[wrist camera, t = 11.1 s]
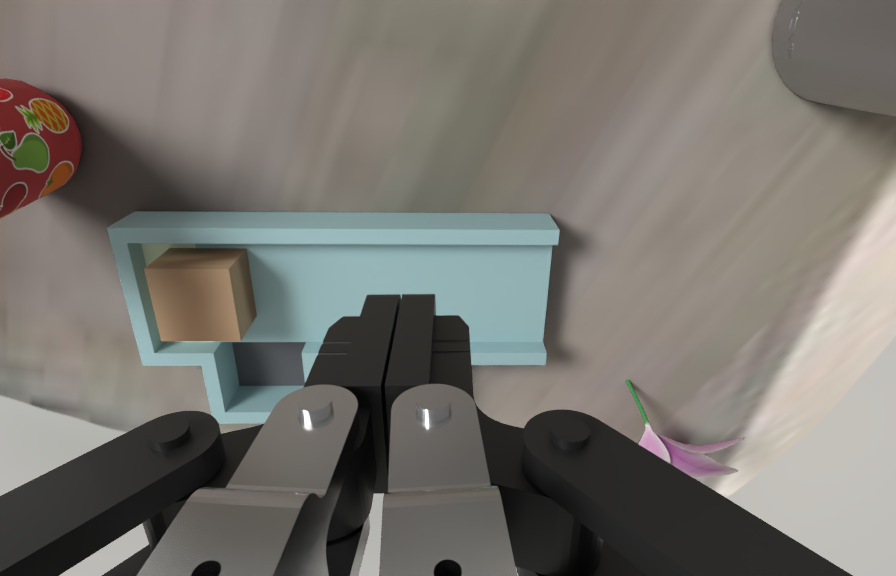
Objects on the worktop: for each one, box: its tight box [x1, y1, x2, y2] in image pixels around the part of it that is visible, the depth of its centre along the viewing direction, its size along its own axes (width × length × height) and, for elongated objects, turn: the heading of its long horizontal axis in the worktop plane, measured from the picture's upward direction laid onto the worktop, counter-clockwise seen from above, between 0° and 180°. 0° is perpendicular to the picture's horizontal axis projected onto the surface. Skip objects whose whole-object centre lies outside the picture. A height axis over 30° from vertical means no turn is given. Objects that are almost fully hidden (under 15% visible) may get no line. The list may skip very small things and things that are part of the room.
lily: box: [626, 380, 745, 479], centre depth 42 cm, size 12×12×10 cm
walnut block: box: [144, 248, 257, 341], centre depth 35 cm, size 5×5×4 cm
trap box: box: [107, 211, 560, 424], centre depth 39 cm, size 28×15×4 cm, turn 89°
